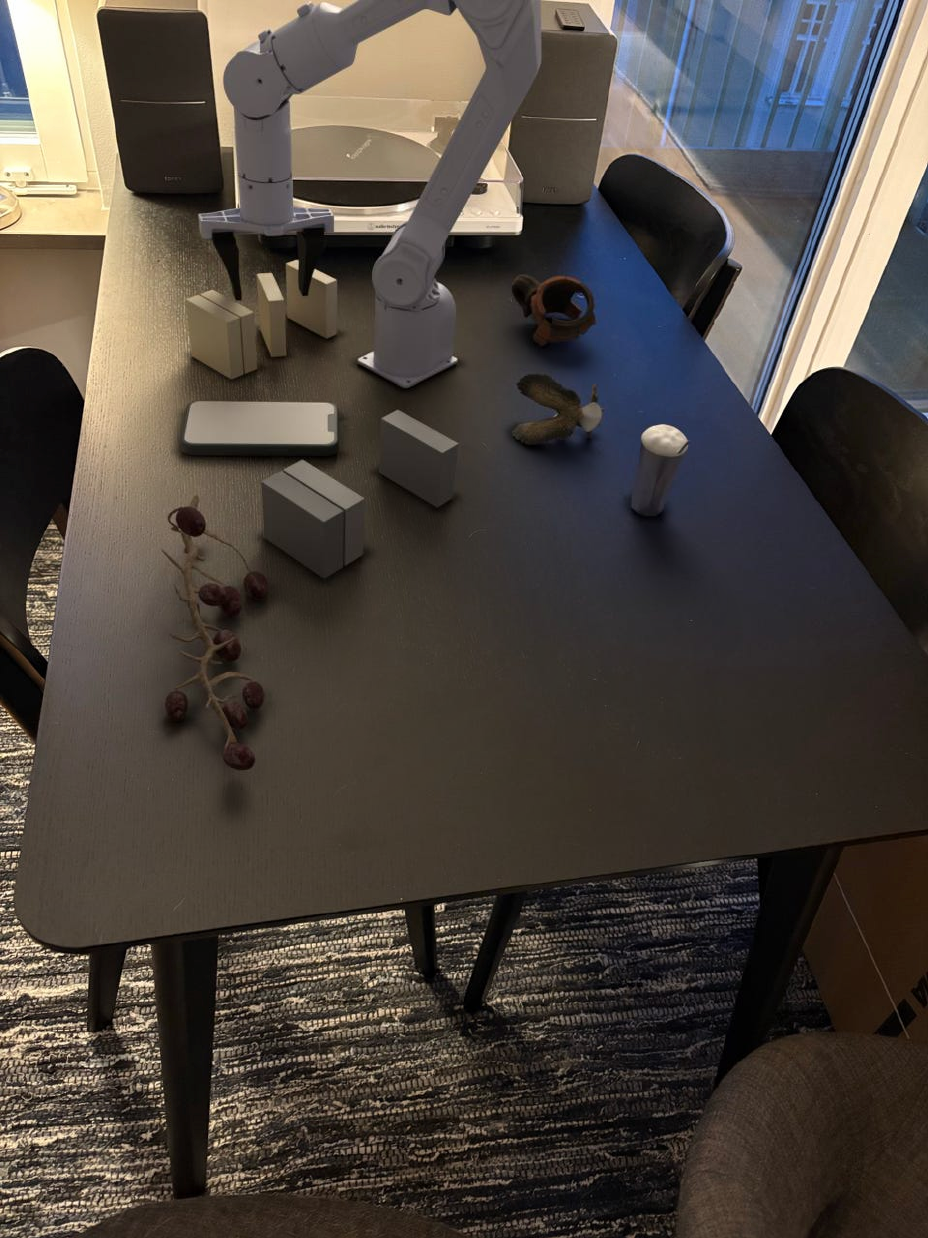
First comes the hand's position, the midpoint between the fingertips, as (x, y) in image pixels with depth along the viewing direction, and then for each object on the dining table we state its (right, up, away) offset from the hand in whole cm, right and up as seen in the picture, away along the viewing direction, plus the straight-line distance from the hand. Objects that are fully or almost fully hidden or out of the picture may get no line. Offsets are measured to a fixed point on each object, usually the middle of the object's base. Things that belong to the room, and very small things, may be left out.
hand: (270, 294), depth 112 cm
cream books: (-1, -4, +4) cm, 6 cm away
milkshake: (+41, -27, -13) cm, 51 cm away
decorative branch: (+2, -39, -32) cm, 50 cm away
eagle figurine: (+32, -17, -4) cm, 37 cm away
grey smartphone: (+1, -18, -10) cm, 21 cm away
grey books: (+13, -28, -18) cm, 36 cm away
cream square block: (-1, -4, +4) cm, 6 cm away
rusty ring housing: (+33, 0, +13) cm, 36 cm away
